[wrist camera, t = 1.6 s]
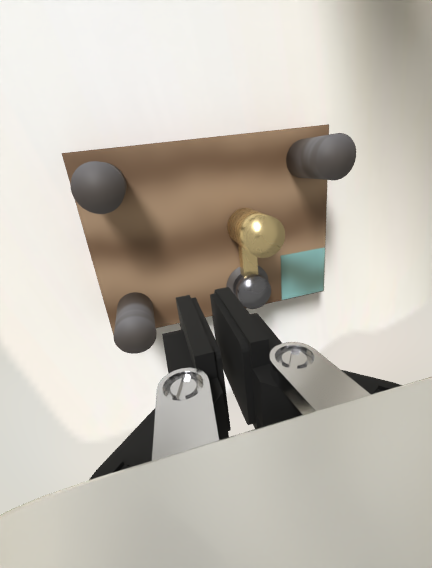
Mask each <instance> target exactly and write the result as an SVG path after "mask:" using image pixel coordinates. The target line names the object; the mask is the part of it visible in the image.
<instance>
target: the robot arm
mask: <svg viewBox="0 0 432 568" xmlns="http://www.w3.org/2000/svg"><path fill="white" fill-rule="evenodd" d="M210 300H211V308H212V315H213V323H214V331H215V338H216V340H215V338H214V336H213V334H212V331H211V329H210V327H209V325H208V323H207V321H206V318H205V316H204V314H203V312H202V310H201V308H200V305H199V303H198V301H197V299H196V297H194V298H191V297H190V295H186V296H181V297H176V304H177V309H178V315H179V321H180V326H181V330H179V331H174V332H170V333H165V334H162V335H163V342H164V348H165V354H166V360H167V366H168V372H169V374H167V375H166V376H165V377H164V378H162V380H161V381H160V382H159V384H158V387H157V393H156V408H155V409H154V410H153V411H152V412H151V413H150V414H149V415H148V416H147V417H146V418H145V419H144V420H143V422H142V423H141V424H140V425H139V426H138V427H137V428H136V429H135V430H134V431H133V432H132V433H131V435H129V436H128V437H127V438H126V440H125V441H124V442H123V443H122V444H121V445H120V446H119V447H118V448H117V449H116V450H115V451H114V452H113V453H112V454H111V455H110V456H109V458H108V459H107V460H106V461H105V462H104V463H103V464H102V465H101V466H100V467H99V468H98V469H97V470H96V472H95V473H94V474H93V475H92V477H91V478H90V480H89V481H86V482H83V483H80V484H77V485H74V486H71V487H68V488H65V489H63V490H59V491H57V492H54V493H51V494H48V495H45V496H42V497H40V498H37V499H35V500H33V501H30V502H28V503H25V504H23V505H21V506H18V507H16V508H13V509H11V510H9V511H7V512H5V513H3V514H1V515H0V568H432V377H430V378H426V379H423V380H419V381H416V382H412V383H409V384H406V385H399V384H396V383H393V382H389V381H385V380H381V379H376V378H373V377H368V376H364V375H360V374H356V373H352V372H348V371H343V370H340V369H339V368H338V367H336V366H335V365H334V364H333V363H331V362H330V361H329V360H328V359H327V358H325V357H324V356H323V355H322V354H320V353H319V352H318V351H317V350H315V349H314V348H312V347H311V346H309V345H306V344H303V343H298V342H287V343H281V341H280V340H279V339H278V338H277V337H276V335H275V334H274V333H273V332H272V330H271V329H270V328H269V327H268V326H267V324H266V323H265V322H264V321H263V320H262V318H261V317H260V316H259V315H258V314H257V313H254V314H249V312H248V311H247V310H246V309H245V307H244V306H243V305H242V303H241V302H240V301H239V300H238V298H237V297H236V296H235V294H234V293H233V292H232V291H231V289H230V288H229V287H225V288H220V289H215V291H214V294H210ZM223 370H224V372H225V374H226V377H227V379H228V381H229V384H230V386H231V388H232V390H233V393H234V395H235V397H236V400H237V402H238V404H239V406H240V409H241V411H242V414H243V416H244V418H245V420H246V423H247V424H248V425H250V424H253V425H254V427H255V430H251V431H248V432H245V433H241V434H238V435H235V436H231V437H229V436H228V431H229V430H230V421H229V413H228V405H227V397H226V389H225V381H224V373H223Z"/></svg>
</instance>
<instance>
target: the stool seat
mask: <svg viewBox="0 0 432 568" xmlns="http://www.w3.org/2000/svg"><path fill="white" fill-rule="evenodd" d="M62 156H63V160H64V163H65V167H66V170H67V174H68V177H69V181H70V184H71V191H72V194H73V197H74V199H75V202H76V205H77V209H78V212H79V216H80V219H81V223H82V226H83V230H84V233H85V237H86V240H87V244H88V247H89V251H90V254H91V258H92V261H93V265H94V268H95V272H96V275H97V279H98V282H99V286H100V289H101V293H102V296H103V300H104V303H105V307H106V310H107V314H108V317H109V321H110V324H111V328H112V331H113V335H114V341H115V343H116V345H117V346H118V347H119V348H120V349H121V350H122V351H124V352H127V353H141V352H144V351H146V350H147V349H149V348H150V347H151V346H152V345H153V344H154V342H155V339H156V328H158V327H163V326H167V325H172V324H177V323H180V321H179V315H178V309H177V304H176V297H181V296H186V295H190V297H191V298H194V297H196V299H197V301H198V303H199V305H200V308H201V310H202V312H203V314H204V316H205V317H208V316H213V315H212V308H211V300H210V294H214V291H215V289H220V288H225V287H229V288H230V289H231V291H232V292H233V284H234V281H235V280H236V278H237V277H238V276H239V275H240V274H241V272H240V260H239V248H238V243H236V242H235V241H234V240H233V239H232V238H231V237H230V236H229V234H228V231H227V223H228V220H229V218H230V216H231V215H232V214H233V213H234V212H235V211H236V210H238V209H241V208H250V209H252V210H255V211H258V212H261V213H263V214H266V215H269V216H271V217H274V218H276V219H278V220H279V221H280V222H281V223H282V225H283V226H284V229H285V240H284V243H283V245H282V247H281V249H280V250H279V251H278V252H277V253H276V254H274V255H273V256H271V257H268V258H259V257H257V263H258V273H259V274H260V275H261V276H262V277H263V278H265V279H266V280H267V281H268V282H269V284H270V286H271V295H270V298H269V300H268V301H267V302H266V303H265V304H267V303H272V302H276V301H281V300H285V299H290V298H295V297H299V296H304V295H308V294H313V293H317V292H322V291H324V268H325V236H326V204H327V180H338V179H341V178H343V177H344V176H346V175H347V174H348V173H349V172H350V170H351V169H352V167H353V165H354V162H355V158H356V148H355V144H354V142H353V140H352V139H351V138H350V137H349V136H348V135H346V134H343V133H336V134H330V135H329V125H320V126H311V127H301V128H292V129H283V130H274V131H264V132H255V133H246V134H237V135H227V136H218V137H209V138H199V139H190V140H181V141H172V142H162V143H153V144H144V145H135V146H125V147H116V148H107V149H98V150H88V151H79V152H70V153H62ZM233 293H234V292H233ZM244 307H245V306H244ZM245 308H246V307H245Z"/></svg>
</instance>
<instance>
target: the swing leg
mask: <svg viewBox="0 0 432 568" xmlns="http://www.w3.org/2000/svg"><path fill="white" fill-rule="evenodd" d="M227 231H228V234H229V236H230V237H231V238H232V239H233V240H234V241H235V242H236V243H238V248H239V260H240V272H241V274H240V275H239V276H238V277H237V278H236V280H235V281H234V284H233V292H234V294H235V296H236V297H237V298H238V300H239V301H240V302H241V303H242V305H243V306H245V307H246V308H249V309H256V308H259V307H261V306H263V305H264V304H265V303H266V302H267V301H268V300H269V298H270V295H271V286H270V284H269V282H268V281H267V280H266V279H265V278H263V277H262V276H261V275H260V274H259V273H258V263H257V257H259V258H268V257H271V256H273V255H274V254H276V253H277V252H278V251H279V250H280V249H281V247H282V245H283V243H284V240H285V229H284V226H283V225H282V223H281V222H280V221H279V220H278V219H276V218H274V217H271V216H269V215H266V214H263V213H261V212H258V211H255V210H252V209H250V208H241V209H238V210H236V211H235V212H234V213H233V214H232V215H231V216H230V218H229V220H228V223H227Z"/></svg>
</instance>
